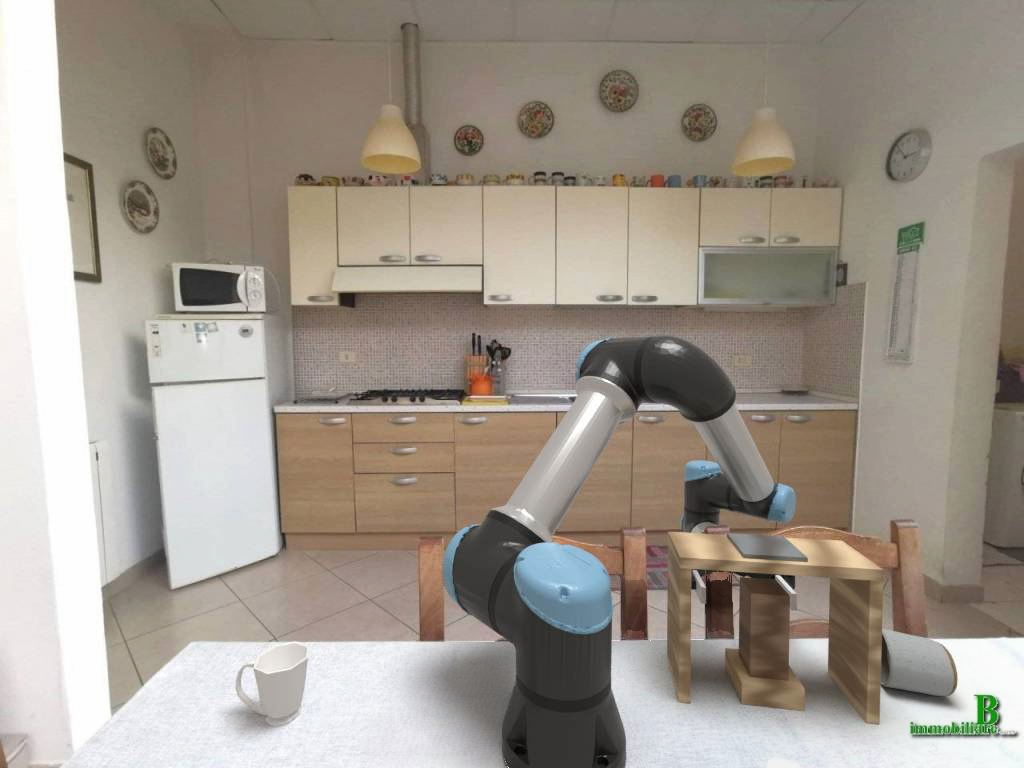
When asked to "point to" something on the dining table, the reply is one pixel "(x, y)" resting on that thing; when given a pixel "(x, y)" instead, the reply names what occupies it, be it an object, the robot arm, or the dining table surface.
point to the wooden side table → (848, 570)
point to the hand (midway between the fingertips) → (748, 598)
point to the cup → (278, 682)
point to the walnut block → (764, 628)
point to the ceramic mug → (916, 664)
